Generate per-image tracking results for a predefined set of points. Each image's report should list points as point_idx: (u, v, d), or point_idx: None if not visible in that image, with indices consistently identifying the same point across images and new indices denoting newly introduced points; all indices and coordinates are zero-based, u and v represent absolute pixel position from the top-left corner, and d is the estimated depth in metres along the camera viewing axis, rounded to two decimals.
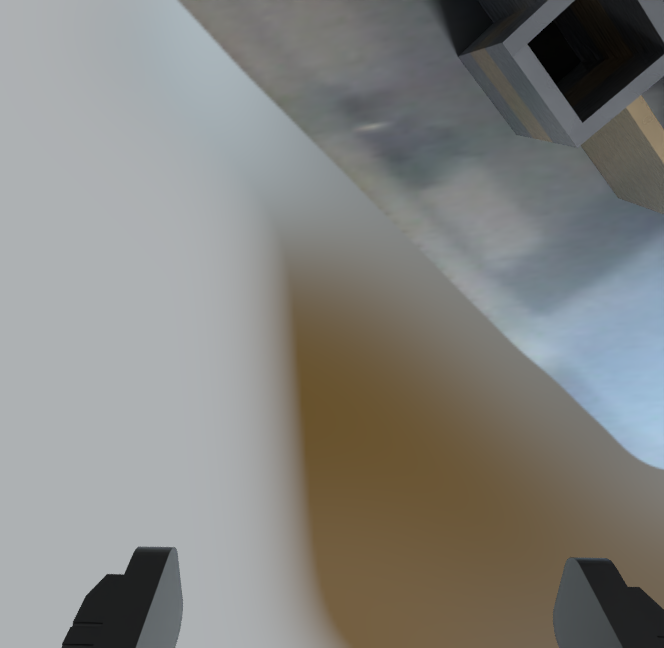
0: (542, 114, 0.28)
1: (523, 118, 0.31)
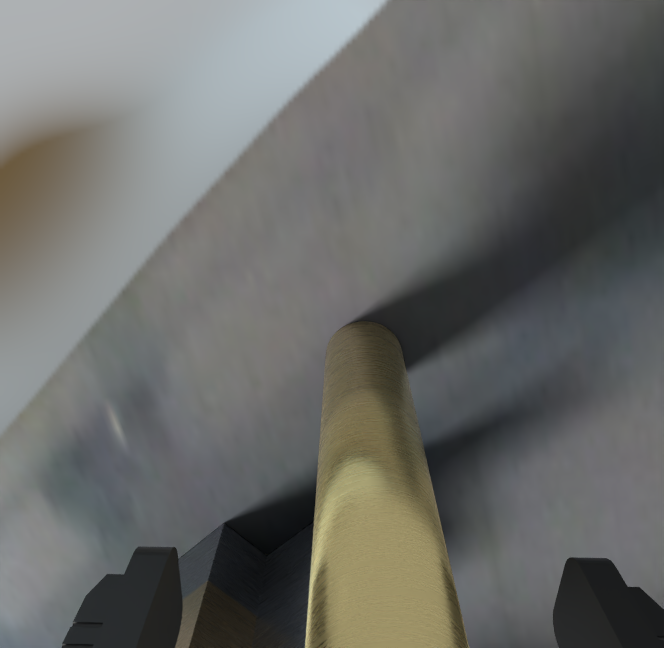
0: None
1: None
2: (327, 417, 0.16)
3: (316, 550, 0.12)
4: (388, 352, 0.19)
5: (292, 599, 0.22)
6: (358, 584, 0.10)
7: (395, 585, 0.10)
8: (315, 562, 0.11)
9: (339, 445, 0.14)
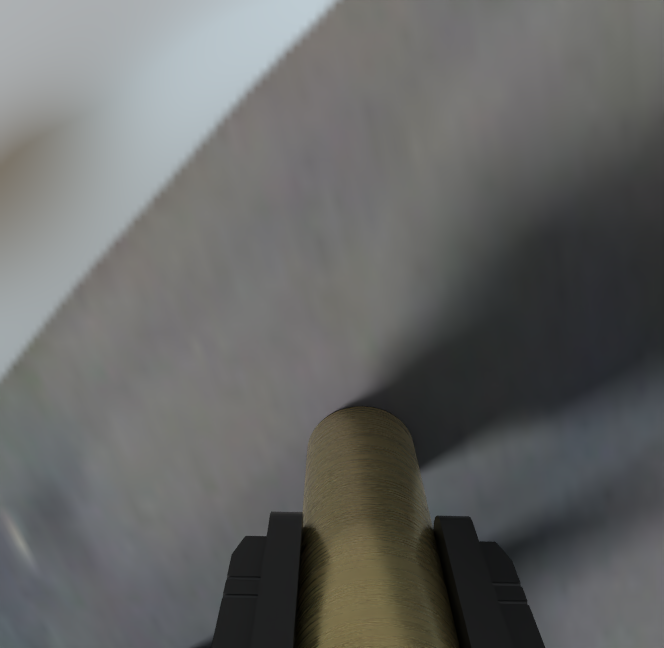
0: None
1: None
2: (305, 608, 0.10)
3: None
4: (397, 467, 0.13)
5: None
6: None
7: None
8: None
9: None
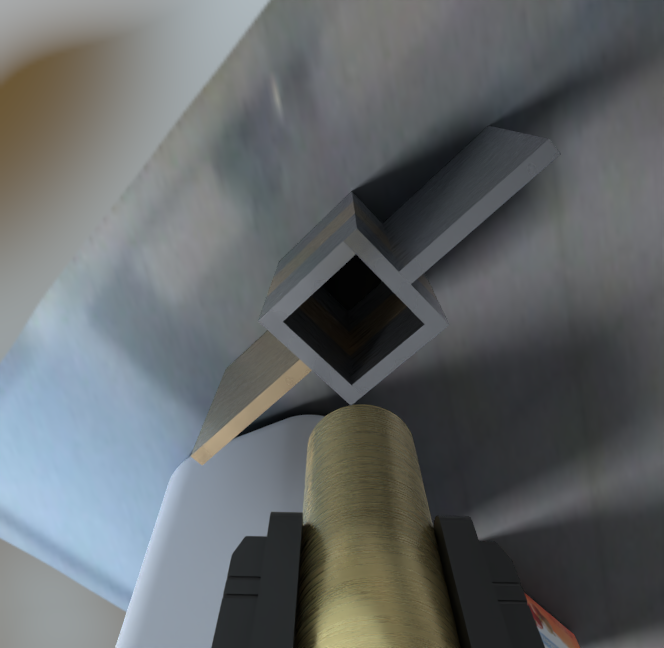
0: (291, 281, 0.26)
1: (290, 264, 0.30)
2: (305, 605, 0.10)
3: None
4: (398, 465, 0.13)
5: (417, 211, 0.29)
6: None
7: None
8: None
9: None
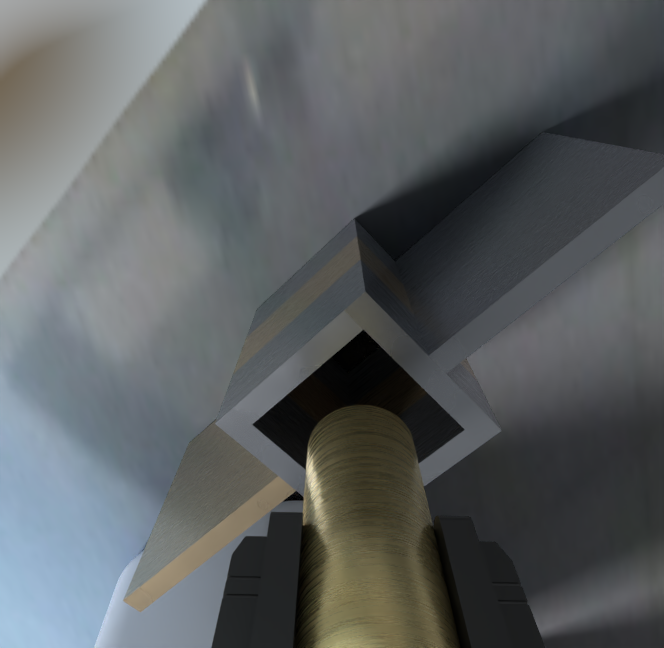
0: (266, 359, 0.18)
1: (269, 322, 0.21)
2: (305, 606, 0.10)
3: None
4: (398, 466, 0.13)
5: (447, 251, 0.21)
6: None
7: None
8: None
9: None
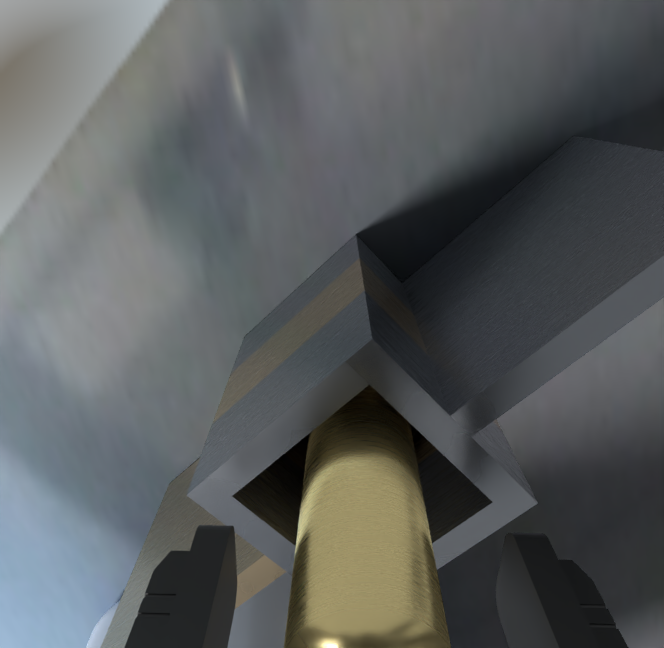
0: (250, 413, 0.14)
1: (257, 359, 0.18)
2: None
3: (303, 506, 0.12)
4: None
5: (466, 276, 0.18)
6: (339, 530, 0.11)
7: (372, 531, 0.11)
8: (302, 516, 0.12)
9: None
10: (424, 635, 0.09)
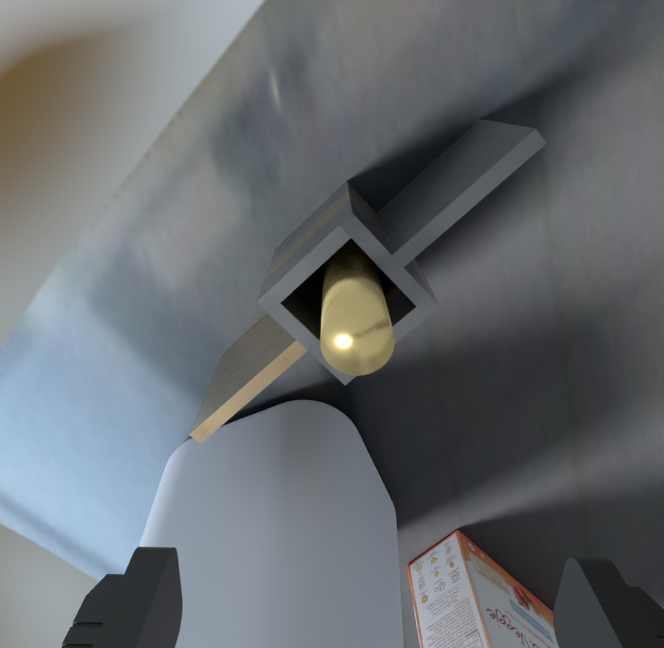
0: (288, 264, 0.27)
1: (287, 250, 0.31)
2: (327, 264, 0.29)
3: (324, 298, 0.25)
4: None
5: (410, 199, 0.30)
6: (344, 294, 0.23)
7: (359, 293, 0.23)
8: (324, 301, 0.25)
9: (334, 267, 0.27)
10: (381, 320, 0.22)
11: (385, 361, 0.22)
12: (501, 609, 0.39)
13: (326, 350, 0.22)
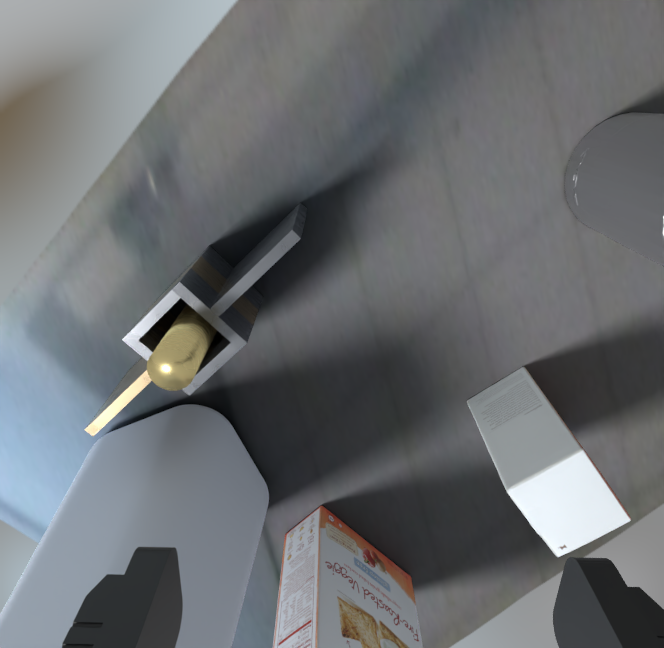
0: None
1: (159, 298, 0.43)
2: None
3: None
4: None
5: (244, 263, 0.42)
6: (168, 337, 0.35)
7: (177, 336, 0.35)
8: None
9: (180, 314, 0.40)
10: (183, 356, 0.34)
11: (190, 381, 0.35)
12: (341, 563, 0.51)
13: (151, 374, 0.34)
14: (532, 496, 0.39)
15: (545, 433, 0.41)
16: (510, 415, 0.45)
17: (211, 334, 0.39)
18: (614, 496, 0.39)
